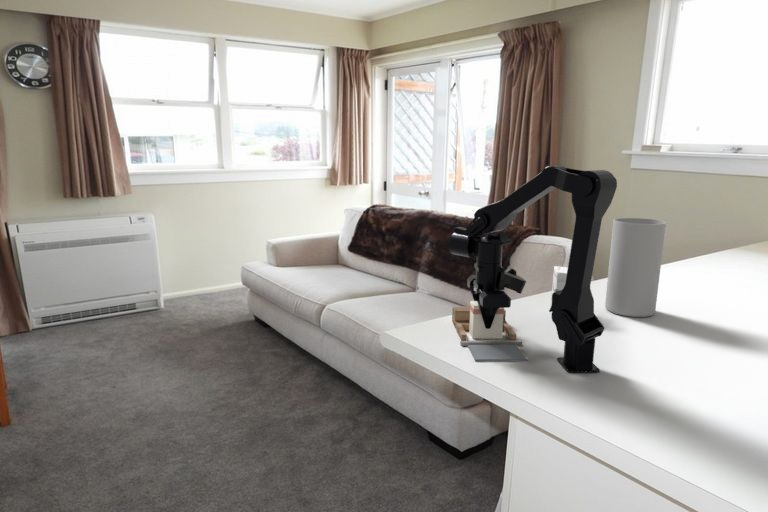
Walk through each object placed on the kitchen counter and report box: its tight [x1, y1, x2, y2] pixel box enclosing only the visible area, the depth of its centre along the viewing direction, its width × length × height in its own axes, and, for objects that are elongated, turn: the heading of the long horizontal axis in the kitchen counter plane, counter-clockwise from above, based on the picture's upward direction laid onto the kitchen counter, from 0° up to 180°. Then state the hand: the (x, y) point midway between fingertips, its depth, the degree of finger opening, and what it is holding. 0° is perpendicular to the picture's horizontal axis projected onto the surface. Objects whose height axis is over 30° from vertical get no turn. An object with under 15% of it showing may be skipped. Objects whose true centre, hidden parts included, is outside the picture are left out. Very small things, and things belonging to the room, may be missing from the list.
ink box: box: [550, 265, 568, 307], centre depth 139 cm, size 8×5×12 cm, turn 168°
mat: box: [467, 345, 528, 362], centre depth 111 cm, size 8×11×1 cm
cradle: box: [451, 306, 524, 347], centre depth 123 cm, size 16×14×4 cm
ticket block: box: [468, 300, 505, 340], centre depth 121 cm, size 4×7×8 cm, turn 92°
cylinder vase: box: [604, 217, 667, 318], centre depth 138 cm, size 12×12×25 cm
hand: (485, 325), depth 121 cm, fingers closed on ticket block, 4 cm apart
